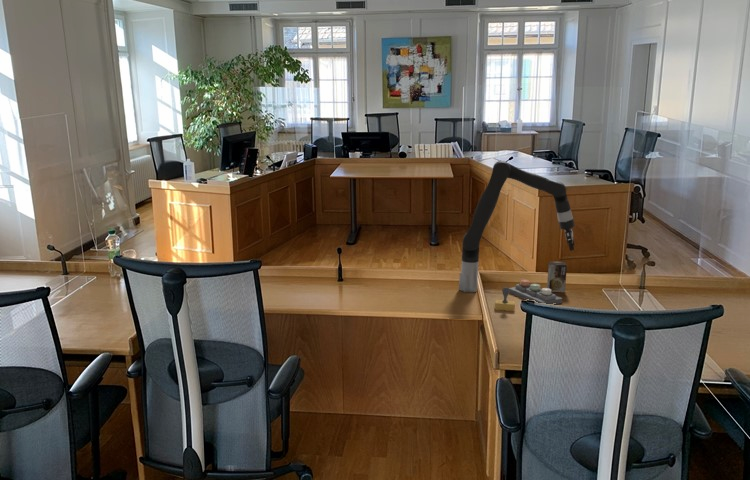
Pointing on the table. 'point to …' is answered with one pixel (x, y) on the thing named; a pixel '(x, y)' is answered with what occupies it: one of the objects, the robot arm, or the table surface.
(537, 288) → the sage button
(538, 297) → the console
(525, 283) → the terracotta button
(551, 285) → the coffee box
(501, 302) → the rubber stamp
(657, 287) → the table surface
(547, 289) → the cream button
